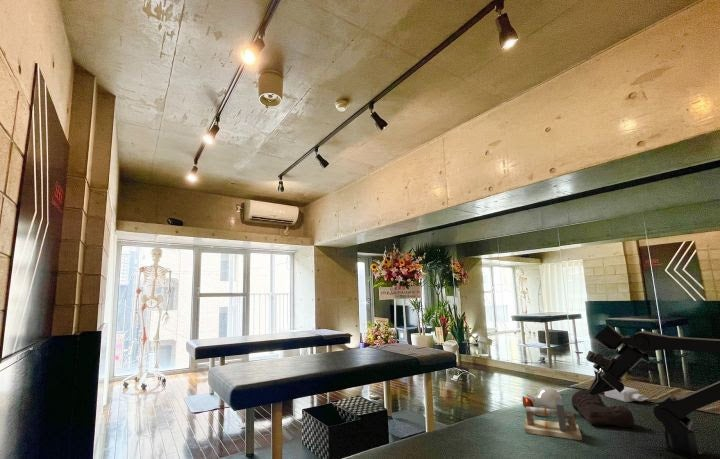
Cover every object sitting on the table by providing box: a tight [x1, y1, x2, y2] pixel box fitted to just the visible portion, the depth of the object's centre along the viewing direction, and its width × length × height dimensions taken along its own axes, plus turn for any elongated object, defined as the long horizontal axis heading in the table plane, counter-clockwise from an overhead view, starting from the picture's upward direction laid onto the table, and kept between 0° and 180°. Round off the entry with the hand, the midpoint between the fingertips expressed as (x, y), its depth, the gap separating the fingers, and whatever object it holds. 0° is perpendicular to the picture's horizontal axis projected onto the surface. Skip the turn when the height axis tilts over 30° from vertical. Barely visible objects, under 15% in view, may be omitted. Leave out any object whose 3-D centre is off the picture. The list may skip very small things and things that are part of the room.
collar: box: [555, 398, 567, 431], centre depth 120 cm, size 2×8×8 cm, turn 154°
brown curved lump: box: [571, 389, 635, 428], centre depth 128 cm, size 10×15×15 cm
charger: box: [603, 385, 649, 403], centre depth 151 cm, size 5×9×15 cm
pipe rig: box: [524, 407, 583, 441], centre depth 121 cm, size 17×10×7 cm, turn 64°
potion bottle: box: [522, 386, 563, 410], centre depth 141 cm, size 9×10×15 cm
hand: (589, 393), depth 117 cm, fingers closed
